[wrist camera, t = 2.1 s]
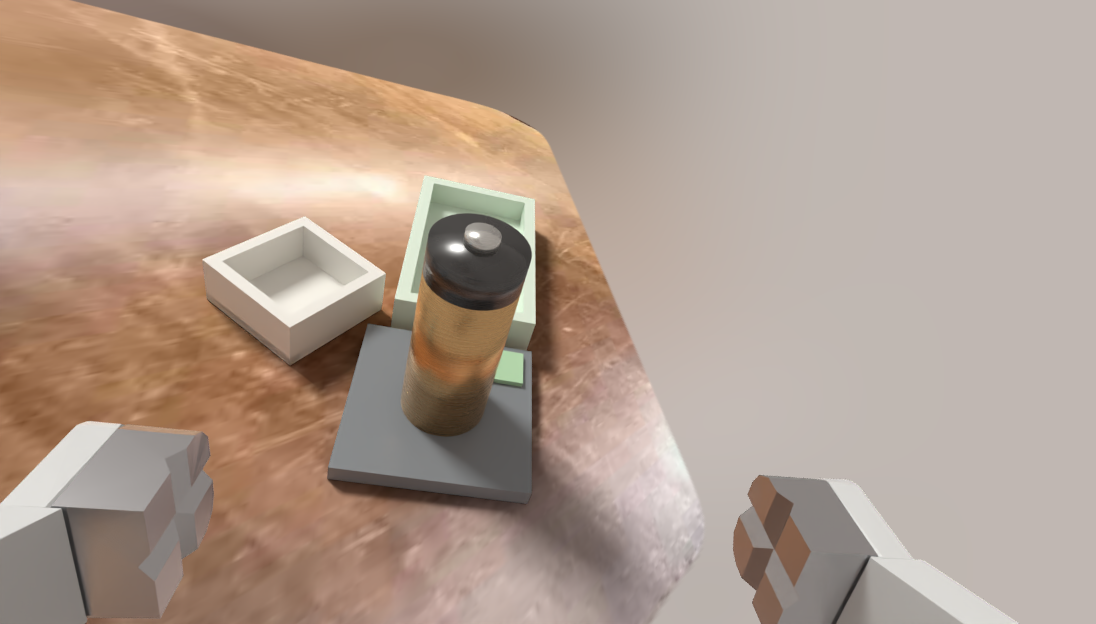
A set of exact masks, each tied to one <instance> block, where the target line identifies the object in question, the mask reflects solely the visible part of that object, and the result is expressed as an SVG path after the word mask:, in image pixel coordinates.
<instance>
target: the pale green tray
mask: <svg viewBox="0 0 1096 624" xmlns="http://www.w3.org/2000/svg"><path fill="white" fill-rule="evenodd" d="M462 213H472V214H481V215H486V216H490V217H493V218H496V219H499V220H501V221H503V222H505V223H507V224H509V225H511V226H512V227H514V228H515V229H517V230H518V231H519V232H520V233H521V234H522V235H523V236H524V237H525V238H526V240H527V241H528V243H529V245H530V247H531V250H532V259H531V263H530V266H529V269H528V272H527V276H526V279H525V282H524V285H523V288H522V292H521V295H520V298H519V301H518V305H517V308H516V311H515V314H514V317H513V321H512V324H511V327H510V330H509V333H508V337H507V340H506V343H505V346H504V347H508V348H513V349H519V350H525V351H526V350H527V347H528V345H529V342H530V339H531V336H532V333H533V330H534V327H535V324H536V306H535V199H531V198H526V197H522V196H517V195H512V194H508V193H503V192H499V191H494V190H489V189H485V188H480V187H476V186H471V185H466V184H462V183H457V182H453V181H448V180H444V179H439V178H434V177H430V176H424V180H423V184H422V188H421V192H420V197H419V201H418V205H417V209H416V213H415V217H414V221H413V225H412V230H411V234H410V238H409V242H408V246H407V250H406V254H405V259H404V263H403V267H402V271H401V275H400V279H399V283H398V287H397V292H396V296H395V301H394V308H393V315H392V322H391V328H397V329H403V330H409V331H412V328H413V322H414V316H415V310H416V304H417V299H418V293H419V287H420V281H421V275H422V269H423V263H424V257H425V251H426V245H427V239H428V234H429V231H430V229H431V227H432V226H433V225H434V224H435V223H436V222H437V221H438V220H440V219H442V218H444V217H446V216H450V215H454V214H462Z"/></svg>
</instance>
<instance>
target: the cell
mask: <svg viewBox="0 0 1096 624" xmlns="http://www.w3.org/2000/svg"><path fill="white" fill-rule="evenodd" d="M531 259H532V250H531V247H530V245H529V243H528V241H527V240H526V238H525V237H524V236H523V235H522V234H521V233H520V232H519V231H518V230H517V229H515V228H514V227H512V226H511V225H509V224H507V223H505V222H503V221H501V220H499V219H496V218H493V217H490V216H486V215H481V214H472V213H462V214H454V215H450V216H446V217H444V218H442V219H440V220H438V221H437V222H436V223H435V224H434V225H433V226H432V227H431V229H430V231H429V234H428V239H427V245H426V251H425V257H424V263H423V269H422V275H421V281H420V287H419V293H418V299H417V304H416V310H415V316H414V322H413V328H412V334H411V340H410V346H409V352H408V358H407V364H406V370H405V375H404V381H403V387H402V393H401V407H402V410H403V412H404V414H405V416H406V418H407V419H408V420H409V421H410V422H411V423H412V424H413V425H414V426H415V427H417V428H418V429H420V430H422V431H424V432H426V433H429V434H432V435H436V436H445V437H448V436H457V435H460V434H463V433H466V432H468V431H470V430H471V429H473V428H474V427H475V426H476V425H477V424H478V423H479V422H480V420H481V419H482V416H483V414H484V411H485V407H486V404H487V401H488V398H489V395H490V391H491V388H492V385H493V382H494V378H495V375H496V372H497V369H498V366H499V362H500V359H501V356H502V353H503V350H504V346H505V343H506V340H507V337H508V333H509V330H510V327H511V324H512V321H513V317H514V314H515V311H516V308H517V305H518V301H519V298H520V295H521V292H522V288H523V285H524V282H525V279H526V276H527V272H528V269H529V266H530V263H531Z"/></svg>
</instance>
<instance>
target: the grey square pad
mask: <svg viewBox="0 0 1096 624" xmlns="http://www.w3.org/2000/svg"><path fill="white" fill-rule="evenodd" d="M411 334H412V331H409V330H403V329H397V328H391V327H385V326H380V325H374V324H368V325H367V329H366V332H365V336H364V340H363V343H362V347H361V350H360V354H359V358H358V361H357V365H356V368H355V372H354V376H353V379H352V383H351V387H350V390H349V394H348V397H347V401H346V405H345V408H344V412H343V415H342V419H341V423H340V426H339V430H338V433H337V437H336V441H335V444H334V448H333V451H332V455H331V459H330V462H329V466H328V477H327V479H332V480H340V481H348V482H356V483H364V484H372V485H380V486H388V487H396V488H404V489H412V490H420V491H428V492H436V493H444V494H452V495H460V496H468V497H475V498H483V499H491V500H499V501H507V502H515V503H523V504H527V503H528V501H529V498H530V496H531V494H532V352H531V351H525V350H519V349H513V348H508V347H504V350H503V353H502V356H501V359H500V362H499V366H498V369H497V372H496V375H495V378H494V382H493V385H492V388H491V391H490V395H489V398H488V401H487V404H486V407H485V411H484V414H483V416H482V419H481V420H480V422H479V423H478V424H477V425H476V426H475V427H474V428H473V429H471V430H470V431H468V432H466V433H463V434H460V435H457V436H448V437H445V436H436V435H432V434H429V433H426V432H424V431H422V430H420V429H418V428H417V427H415V426H414V425H413V424H412V423H411V422H410V421H409V420H408V419H407V418H406V416H405V414H404V412H403V410H402V407H401V393H402V387H403V381H404V375H405V370H406V364H407V358H408V352H409V346H410V340H411Z"/></svg>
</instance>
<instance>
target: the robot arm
mask: <svg viewBox="0 0 1096 624" xmlns="http://www.w3.org/2000/svg"><path fill="white" fill-rule="evenodd" d="M209 457H210V449H209V441H208V436H207V435H205V434H204V433H203V432H200V431H190V430H180V429H169V428H159V427H149V426H139V425H129V424H127V425H122V424H113V423H103V422H92V421H87V422H84V423H81V424H79V425H77V426H75V427H74V428H73V429H72V430H71V431H70V432H69V433H68V434H67V435H66V436H65V437H64V438H63V440H62V441H61V442H60V443H59V444H58V445H57V446H56V447H55V448H54V449H53V450H52V451H51V452H50V453H49V454H48V455H47V456H46V457H45V458H44V459H43V460H42V461H41V462H40V463H39V464H38V465H37V466H36V467H35V468H34V469H33V470H32V471H31V472H30V474H29V475H28V476H27V477H26V478H25V479H24V480H23V481H22V482H21V483H20V484H19V485H18V486H17V487H16V488H15V489H14V490H13V491H12V492H11V493H10V494H9V495H8V496H7V497H6V498H5V499H4V500H3V501H2V502H1V503H0V624H85V623H86V622H87V618H161V616H162V614H163V612H164V611H165V609H166V607H167V605H168V603H169V601H170V600H171V598H172V596H173V594H174V592H175V590H176V588H177V587H178V585H179V583H180V581H181V579H182V577H183V568H182V559H183V558H184V557H186V556H187V555H189V554H190V553H192V552H193V551H195V550H196V549H198V547H199V545H200V543H201V541H202V539H203V537H204V535H205V533H206V531H207V527H208V524H209V520H210V517H211V514H212V508H213V497H214V491H213V480H212V479H211V478H210V477H209V476H208V475H207V474H206V473H205V472H204V471H203V470H202V469H203V467H204V466H205V464H206V462H207V461H208V459H209ZM748 496H749V499H750V501H751V503H752V505H753V506H752V507H750V508H749V509H748V510H747V511H745V512H744V513H743V514H741V515H740V516H739V518H738V522H737V525H736V527H735V530H734V541H733V542H734V543H733V551H734V556H735V561H736V565H737V567H738V570H739V573H740V575H741V577H742V579H744V580H745V581H746V582H747V583H748V584H749V585H751V586H752V587H753V588H754V589H755V590H756V593H755V596H754V599H753V601H752V604H753V606H754V608H755V611H756V613H757V615H758V618H759V620H760V622H761V624H1019V623H1018V622H1016V621H1015V620H1013V619H1012V618H1010V617H1009V616H1007V615H1006V614H1004V613H1003V612H1001V611H999V610H998V609H996V608H995V607H993V606H992V605H990V604H989V603H987V602H986V601H984V600H983V599H981V598H980V597H978V596H977V595H975V594H974V593H972V592H971V591H969V590H968V589H966V588H965V587H963V586H962V585H960V584H958V583H957V582H956V581H954V580H953V579H951V578H950V577H948V576H947V575H945V574H944V573H942V572H941V571H939V570H937V569H936V568H934V567H933V566H931V565H930V564H928V563H927V562H925V561H924V560H916V559H913V558H912V556H911V555H910V554H909V552H908V551H907V550H906V548H905V547H904V546H903V544H902V543H901V542H900V540H899V539H898V538H897V536H896V535H895V534H894V532H893V531H892V530H891V528H890V527H889V526H888V524H887V523H886V522H885V520H884V519H883V518H882V516H881V515H880V514H879V512H878V511H877V509H876V508H875V507H874V505H873V504H872V503H871V501H870V500H869V499H868V497H867V496H866V495H865V493H864V492H863V491H862V489H861V488H860V487H859V486H858V485H857V484H855V483H854V482H852V481H851V480H840V479H821V478H820V479H808V478H793V477H779V476H765V475H759V476H758V477H757V478H756V479H755V480H754V481H753V482H752V485H751V487H750V490H749V492H748Z"/></svg>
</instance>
